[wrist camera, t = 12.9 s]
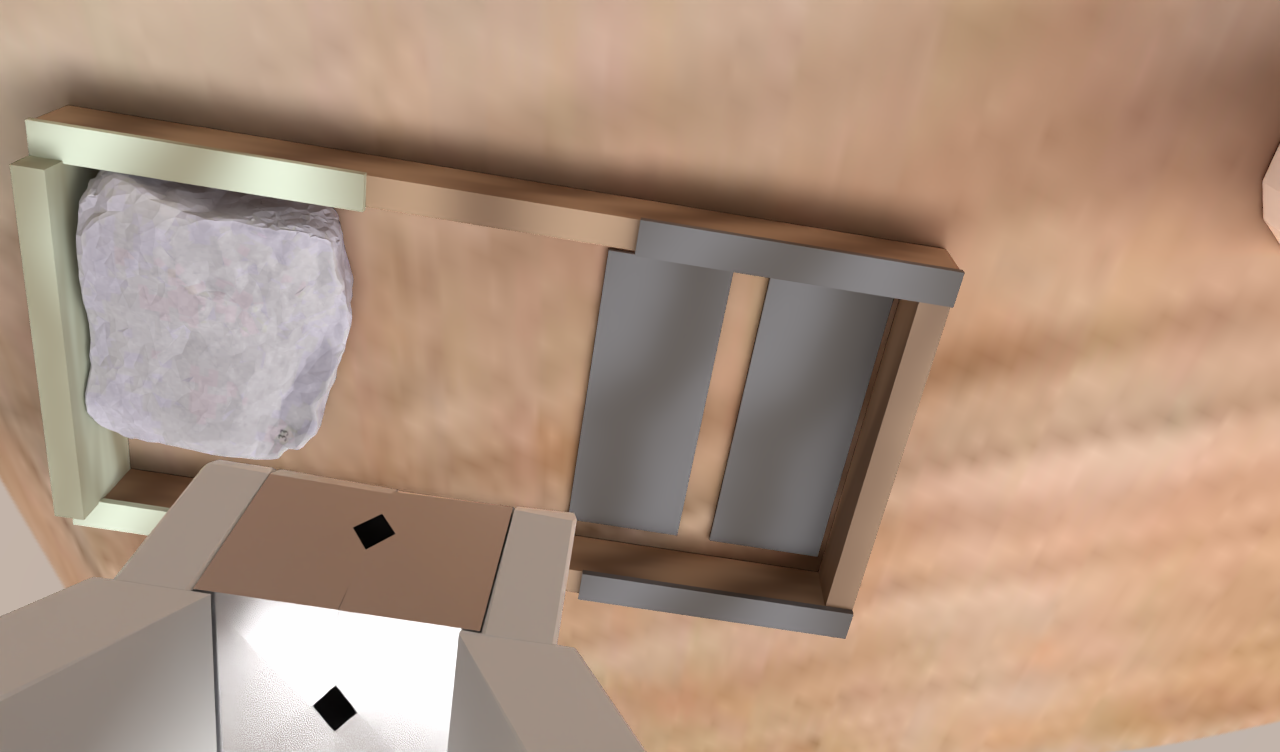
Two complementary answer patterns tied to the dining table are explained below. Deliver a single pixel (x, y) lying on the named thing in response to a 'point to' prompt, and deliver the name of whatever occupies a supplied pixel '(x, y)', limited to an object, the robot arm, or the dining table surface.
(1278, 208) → the white cup
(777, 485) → the box
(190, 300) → the stone block
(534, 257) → the dining table surface
